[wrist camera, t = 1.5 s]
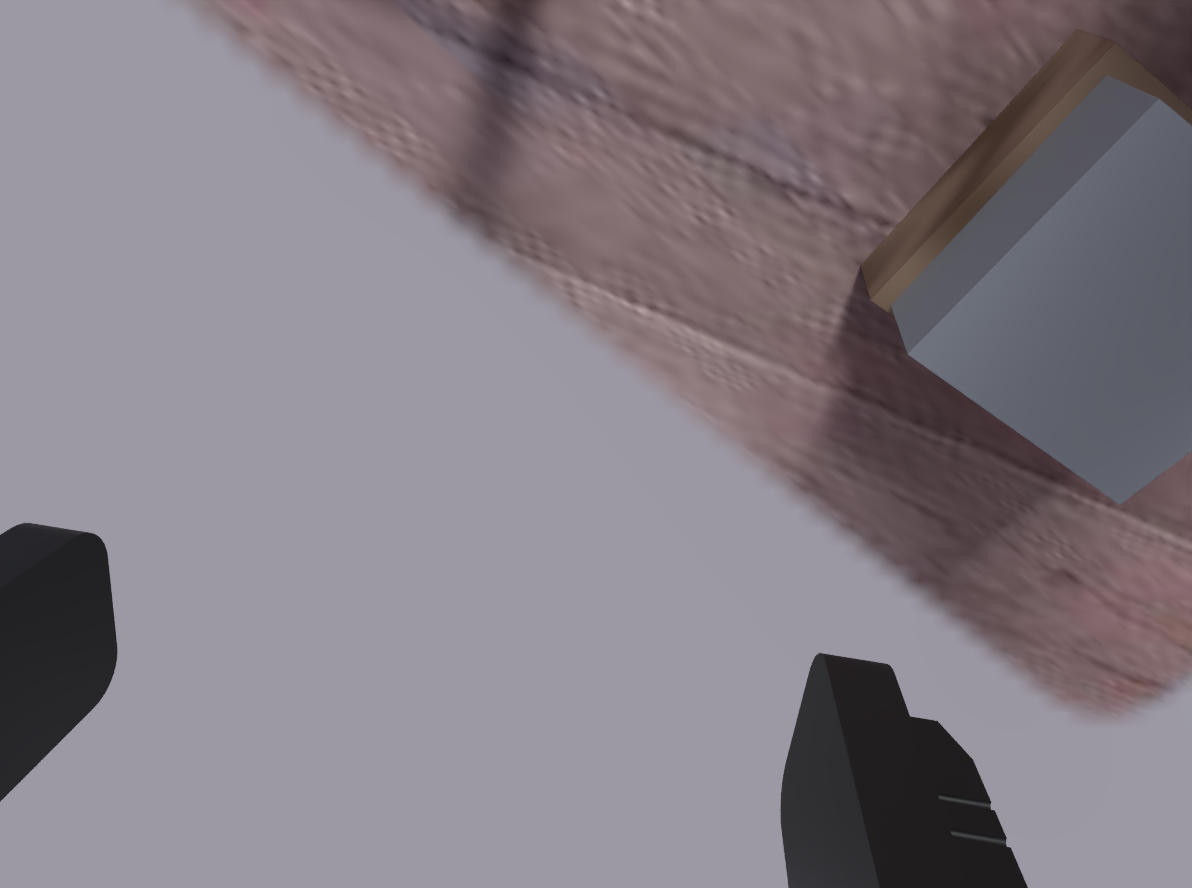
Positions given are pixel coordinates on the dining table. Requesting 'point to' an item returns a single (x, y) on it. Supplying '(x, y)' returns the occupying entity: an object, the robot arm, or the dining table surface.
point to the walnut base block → (1002, 157)
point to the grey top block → (1076, 294)
